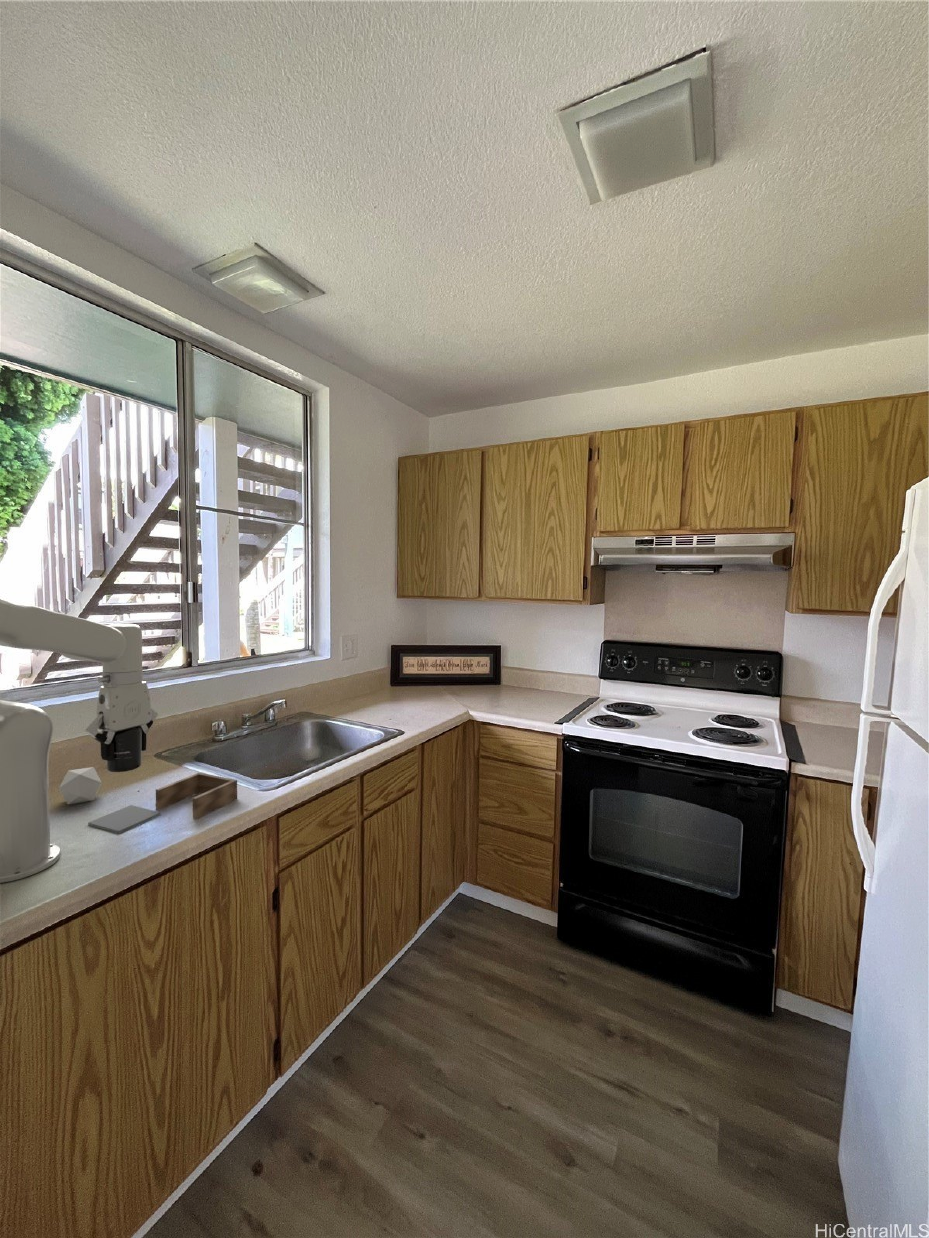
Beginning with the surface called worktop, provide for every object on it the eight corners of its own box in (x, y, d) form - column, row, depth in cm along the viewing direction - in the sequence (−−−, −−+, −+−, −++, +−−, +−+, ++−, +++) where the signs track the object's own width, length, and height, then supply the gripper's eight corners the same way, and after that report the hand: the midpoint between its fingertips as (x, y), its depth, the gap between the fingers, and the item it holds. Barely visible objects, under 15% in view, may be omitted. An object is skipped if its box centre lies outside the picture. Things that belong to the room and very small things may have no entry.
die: (105, 793, 133) (81, 764, 132) (114, 785, 128) (89, 755, 127) (72, 815, 126) (46, 785, 125) (80, 807, 121) (54, 776, 120)
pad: (119, 833, 110) (119, 830, 110) (88, 825, 114) (88, 822, 114) (160, 814, 120) (160, 812, 120) (131, 807, 123) (131, 804, 123)
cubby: (196, 819, 118) (195, 798, 118) (155, 809, 122) (155, 789, 122) (237, 799, 130) (237, 780, 129) (199, 790, 134) (199, 772, 134)
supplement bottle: (116, 775, 112) (115, 722, 111) (100, 769, 115) (99, 717, 114) (148, 766, 118) (147, 715, 117) (132, 760, 121) (131, 711, 120)
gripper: (94, 686, 105) (96, 769, 107) (169, 673, 122) (170, 746, 123) (71, 683, 108) (73, 764, 109) (147, 671, 124) (148, 742, 125)
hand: (124, 754), depth 116 cm, fingers closed on supplement bottle, 6 cm apart
